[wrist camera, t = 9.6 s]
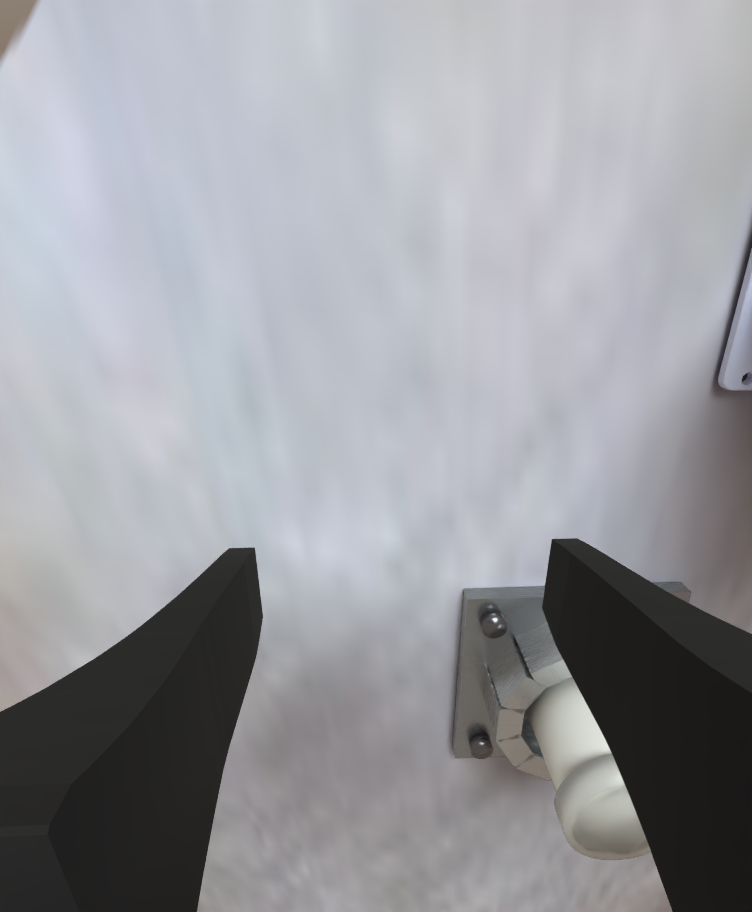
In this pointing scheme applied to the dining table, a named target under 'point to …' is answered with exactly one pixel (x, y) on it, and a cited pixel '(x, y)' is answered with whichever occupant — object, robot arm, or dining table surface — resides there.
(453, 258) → the dining table surface
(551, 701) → the white knob
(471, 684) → the flange
